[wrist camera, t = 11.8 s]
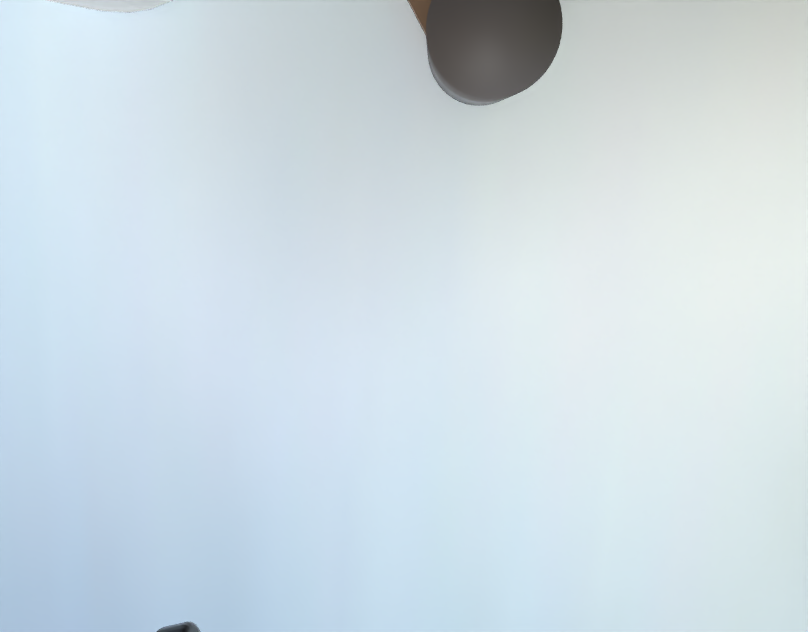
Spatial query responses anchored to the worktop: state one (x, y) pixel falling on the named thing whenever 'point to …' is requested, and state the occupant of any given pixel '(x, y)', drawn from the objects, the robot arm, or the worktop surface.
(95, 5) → the coffee cup
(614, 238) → the worktop surface
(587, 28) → the worktop surface
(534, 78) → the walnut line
